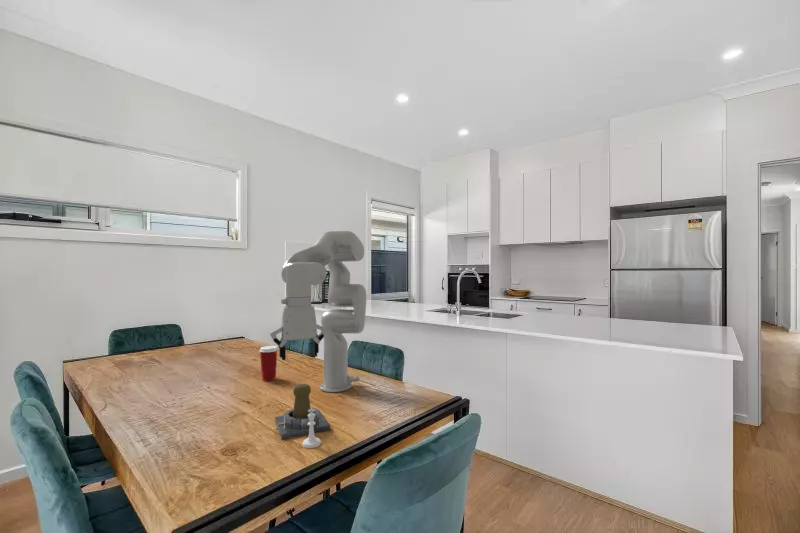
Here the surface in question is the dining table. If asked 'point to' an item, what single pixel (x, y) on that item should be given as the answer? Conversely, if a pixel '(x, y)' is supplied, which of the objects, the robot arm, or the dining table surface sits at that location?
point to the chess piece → (311, 433)
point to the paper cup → (268, 362)
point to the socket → (300, 424)
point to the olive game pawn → (301, 401)
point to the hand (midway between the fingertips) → (299, 357)
